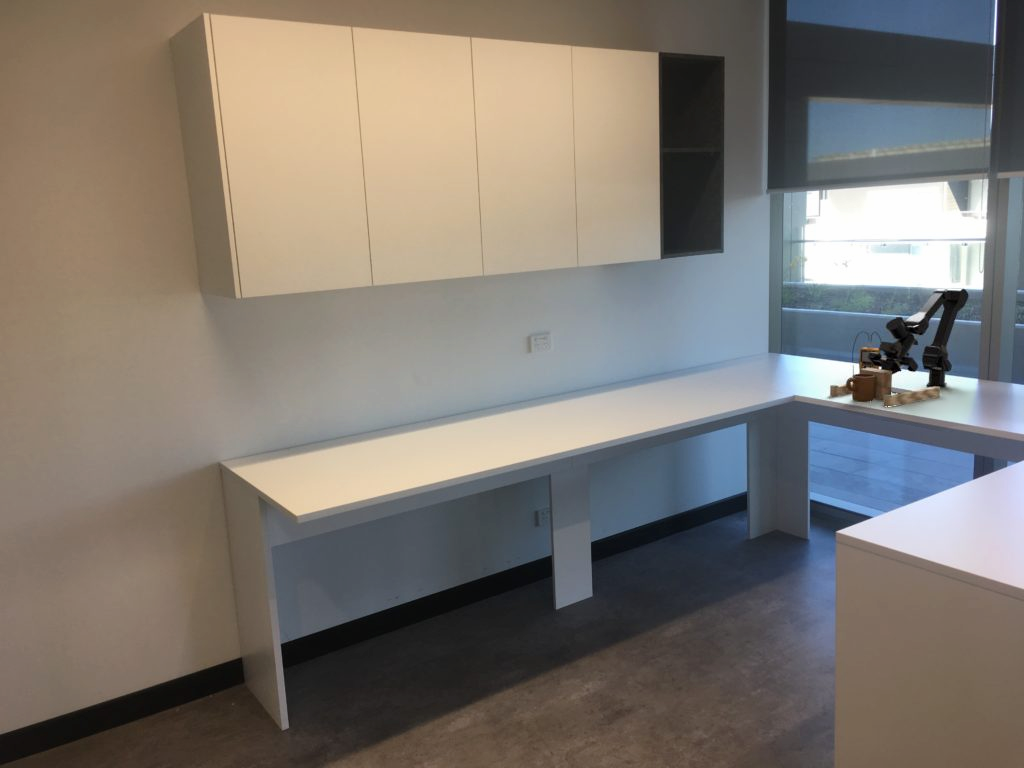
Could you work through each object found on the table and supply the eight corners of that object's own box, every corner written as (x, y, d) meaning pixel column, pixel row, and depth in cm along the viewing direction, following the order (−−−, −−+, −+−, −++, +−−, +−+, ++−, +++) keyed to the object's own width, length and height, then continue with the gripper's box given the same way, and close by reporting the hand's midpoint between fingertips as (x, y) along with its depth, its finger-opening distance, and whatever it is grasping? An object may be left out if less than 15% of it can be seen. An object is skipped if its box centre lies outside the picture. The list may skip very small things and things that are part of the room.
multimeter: (841, 380, 345) (842, 333, 341) (854, 376, 351) (855, 330, 347) (874, 384, 333) (875, 335, 330) (887, 381, 339) (889, 332, 335)
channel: (880, 386, 330) (880, 376, 329) (939, 396, 307) (940, 385, 307) (830, 395, 318) (830, 385, 317) (887, 407, 295) (888, 396, 294)
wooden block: (868, 393, 316) (869, 367, 314) (891, 397, 307) (892, 371, 305) (859, 395, 314) (860, 369, 312) (881, 399, 305) (882, 372, 303)
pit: (885, 387, 328) (885, 386, 328) (933, 395, 310) (933, 394, 309) (873, 389, 325) (873, 388, 325) (921, 398, 306) (921, 396, 306)
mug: (854, 404, 301) (854, 379, 299) (838, 401, 308) (839, 376, 306) (878, 400, 306) (879, 375, 304) (862, 397, 313) (863, 372, 311)
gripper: (871, 331, 318) (850, 363, 315) (914, 335, 301) (892, 369, 299) (884, 349, 323) (864, 380, 320) (927, 354, 306) (906, 387, 304)
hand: (880, 379), depth 310 cm, fingers closed, pressing on wooden block
